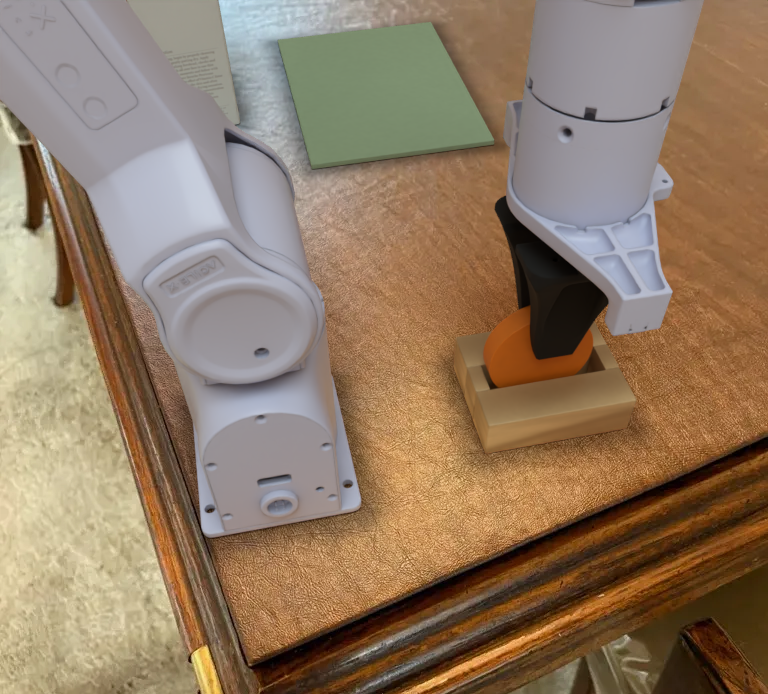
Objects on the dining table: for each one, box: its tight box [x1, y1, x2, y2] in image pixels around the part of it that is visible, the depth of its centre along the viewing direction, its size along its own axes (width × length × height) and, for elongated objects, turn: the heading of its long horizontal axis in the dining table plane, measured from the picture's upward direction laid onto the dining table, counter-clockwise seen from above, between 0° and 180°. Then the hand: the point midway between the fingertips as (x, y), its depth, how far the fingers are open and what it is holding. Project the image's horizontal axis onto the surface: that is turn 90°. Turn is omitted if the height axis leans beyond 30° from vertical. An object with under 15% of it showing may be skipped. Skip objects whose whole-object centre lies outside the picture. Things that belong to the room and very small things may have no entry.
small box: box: [126, 0, 241, 126], centre depth 59 cm, size 8×6×13 cm
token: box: [483, 305, 593, 388], centre depth 41 cm, size 1×6×6 cm, turn 102°
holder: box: [452, 321, 637, 455], centre depth 44 cm, size 7×8×2 cm
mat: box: [277, 21, 495, 170], centre depth 65 cm, size 20×14×1 cm
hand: (547, 340), depth 41 cm, fingers closed on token, 1 cm apart
